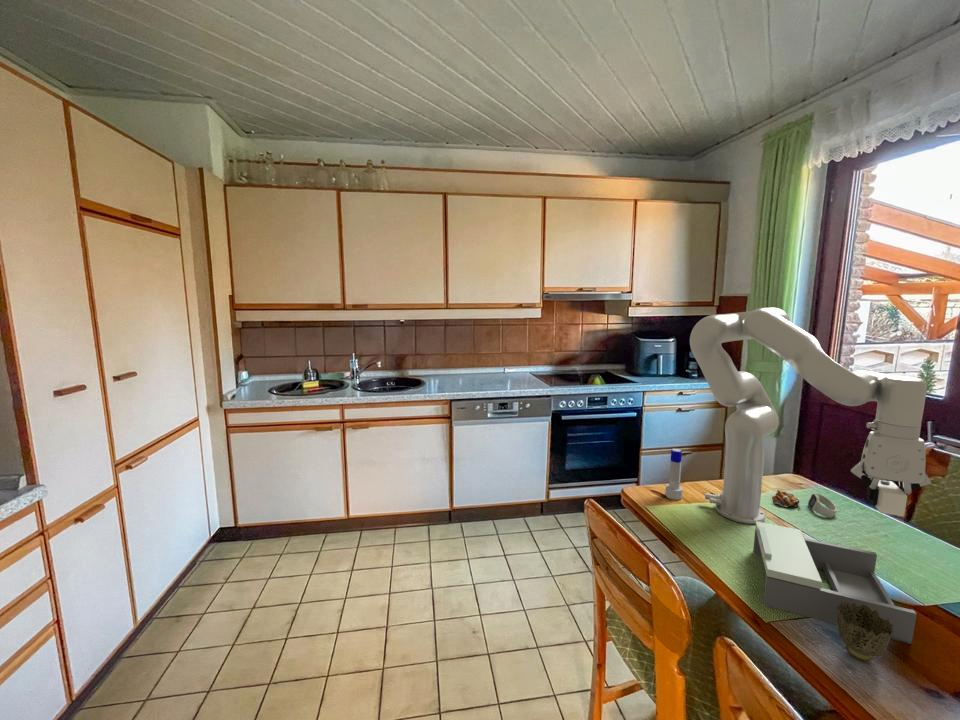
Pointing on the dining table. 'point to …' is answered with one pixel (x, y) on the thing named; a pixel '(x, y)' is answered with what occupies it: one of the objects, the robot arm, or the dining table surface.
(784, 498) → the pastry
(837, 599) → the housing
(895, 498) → the white block with knob
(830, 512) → the wristwatch
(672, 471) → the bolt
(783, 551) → the lid
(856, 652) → the cup
